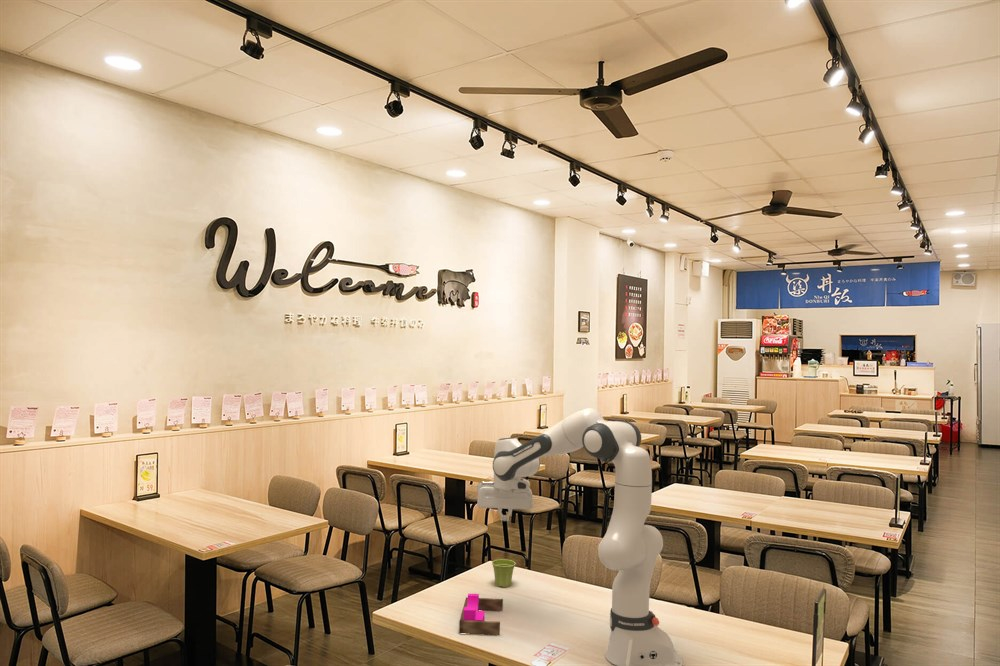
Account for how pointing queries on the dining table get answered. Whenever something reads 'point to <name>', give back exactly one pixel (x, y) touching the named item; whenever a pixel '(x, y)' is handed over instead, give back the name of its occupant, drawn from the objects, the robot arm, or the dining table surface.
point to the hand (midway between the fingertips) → (504, 520)
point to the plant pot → (503, 572)
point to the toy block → (473, 609)
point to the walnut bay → (482, 626)
